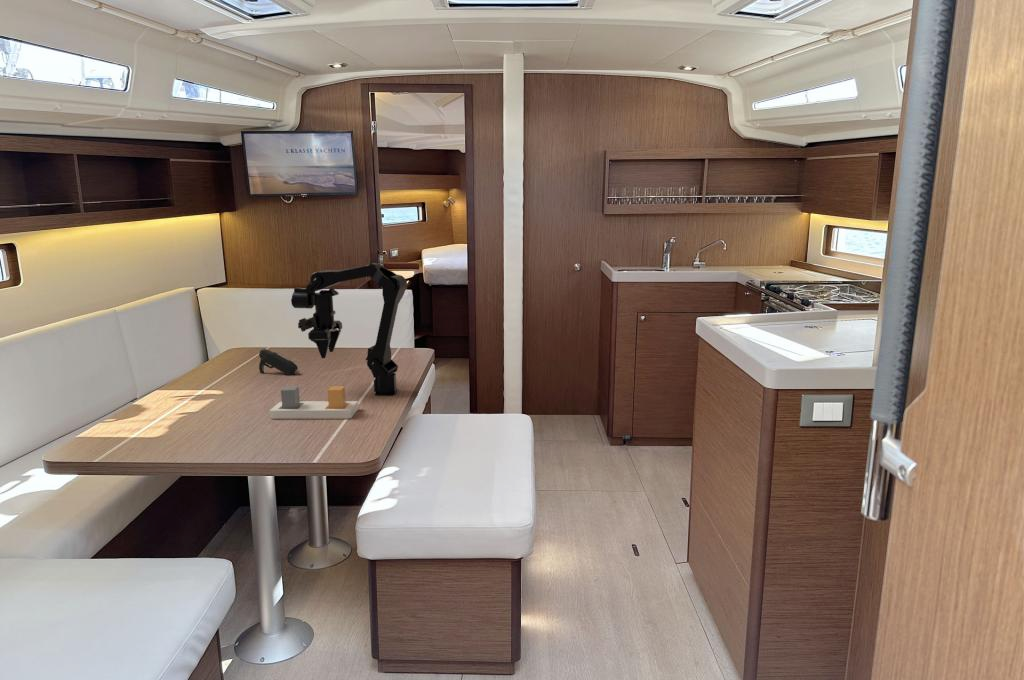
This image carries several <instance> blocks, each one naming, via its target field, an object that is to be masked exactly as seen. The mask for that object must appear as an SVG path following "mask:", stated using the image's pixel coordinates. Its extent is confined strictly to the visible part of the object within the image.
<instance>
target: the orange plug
mask: <svg viewBox="0 0 1024 680" xmlns="http://www.w3.org/2000/svg"><path fill="white" fill-rule="evenodd" d="M327 399H328V400H327V401H328V402H329V409H345V408H346V399H347V398H346V387H345V386H341V385H340V386H339V385H337V386H336V385H335V386H334V385H333V386H331V387H329V388H328V389H327Z"/></svg>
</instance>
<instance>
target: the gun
mask: <svg viewBox="0 0 1024 680" xmlns="http://www.w3.org/2000/svg"><path fill="white" fill-rule="evenodd" d="M258 357H259V358H260V360H259V367H258V369H259V373H260V374H263V375H264V374H265V371H264V370H265V369H264V368H265V367H267V368H269V369H273V368H275V369H276V370H278V371H280V372H282V373H283V374H285V375H287V376H290V377H291V376H294V375H296V374H299V373H300V370H298V369H299V368H298V366H297V364H295V362H293V361H292V360H291V359H289V358H288V357H286V356H284V355H282V354H280V353H278V352H275V351H271V350H268V349H267V348H263V349H261V350H260V351H259V353H258Z"/></svg>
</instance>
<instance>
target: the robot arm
mask: <svg viewBox="0 0 1024 680" xmlns="http://www.w3.org/2000/svg"><path fill="white" fill-rule="evenodd" d="M368 277H370V278H372V280H373V281H374V282H375V283H376V284H377V285H378V286H380V287H381V288H382V300H383V307H382V312H381V316H380V319H379V320H380V321H379V326H378V330H377V336H376V339H375V340H376V341H375V344H374V345H372V346H370V347H368V348H367V356H366V358H365V361H366V365H367V367H368V368H369V370H370V371H371V374H372V377H373V378H375V379H373V391H374V396H394V395H396V393H397V392H398V390H399V389H398V387H397V375H396V374H397V372H398V369H399V365H398V364H396V363H395V361H394V360H393V359H392V349H391V341H392V336H393V330H394V326H395V321H396V317H397V312H398V307H399V303H400V302H401V301H402V299H403V297H404V295H405V293H406V290H407V287H408V280H407V279H406V278H405V277H404V276H403V275H401V274H397V273H395V272H394V271H392V270H390V269H388V268H386V267H384V266H383V265H381V264H379V263H378V262H373V263H369V264H365V265H362V266H356V267H352V268H346V269H341V270H339V269H323V270H319V271H315V272H313V273H312V274H311V276H310V281H309V283H308V284H307V286H306V287H305V288H304V287H294V289H293V293H292V295H291V299H290V302H291V305H292V307H293V308H294V309H309V310H310V309H313V308H314V307H315V308H314V309H315V312H314V313H313V314H312V317H309V318H306V317H303V318H301V319H299V320H298V323H297V325H298V327H297V328H298V329H300V330H301V332H306V331H307V330H310V329H311V328H312V329H311V330H310V331H309V332H308V333H307V335H308V337H307V338H308V340H310V341H311V342H313V343H314V344H315V345H316V347H317V350H318V353H319V355H320V357H321V359H326V357H327V353H328V351H329V353H333V352H334V351H335V348H336V345H337V341H338V339H339V337H340V334H341V332H342V329H343V322H342V321H340V320H335V314H336V310H334V299H333V297H335V296H338V295H339V294H340V293H339V292H338V291H337V290H335V288H334V287H333V286H335V285H338V284H339V283H342V282H347V281H352V280H357V279H362V278H368ZM331 287H332V288H331ZM326 288H329V289H328V290H327V289H326ZM317 291H319V292H317Z"/></svg>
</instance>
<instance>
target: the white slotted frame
mask: <svg viewBox="0 0 1024 680" xmlns="http://www.w3.org/2000/svg"><path fill="white" fill-rule="evenodd" d="M358 410H359V401H356V400H351V401H350V400H347V401H346V408H345V409H329V402H328V400H327V401H326V400H325V401H324V400H323V401H319V400H318V401H317V400H315V401H310V400H309V401H307V400H305V401H304V400H303V401H301V400H300V407H299V408H298V409H282V401H279V402H277V404H276V405H274V406H273V407H272V408H271V409H269V412H268V413H269V419H271V420H273V419H275V420H277V419H280V420H284V419H285V420H287V419H288V420H290V419H291V420H292V419H295V420H297V419H299V420H302V419H303V420H305V419H307V420H308V419H313V420H314V419H316V420H317V419H318V420H319V419H321V420H323V419H325V420H326V419H327V420H330V419H335V420H337V419H340V420H341V419H343V420H344V419H345V420H346V419H347V420H348V419H352V417H353V416H354V415H355V414H356V412H357V411H358Z"/></svg>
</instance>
